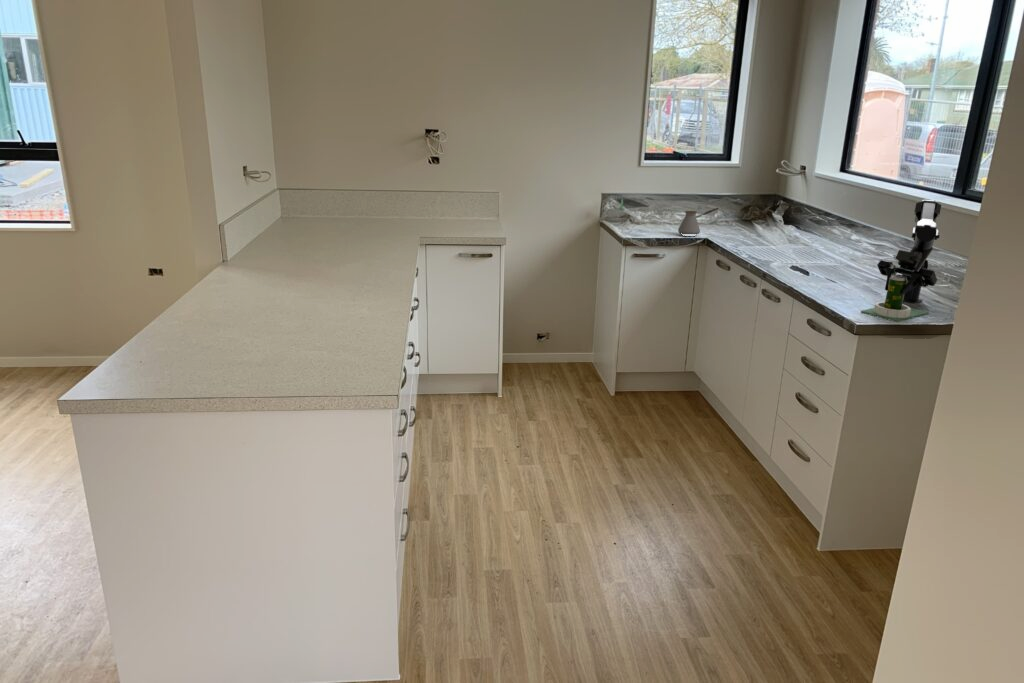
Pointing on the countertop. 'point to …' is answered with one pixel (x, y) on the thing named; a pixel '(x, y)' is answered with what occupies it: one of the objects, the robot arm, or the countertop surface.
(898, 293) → the beer can
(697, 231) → the coffee pot
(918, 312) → the putting mat
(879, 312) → the cup
